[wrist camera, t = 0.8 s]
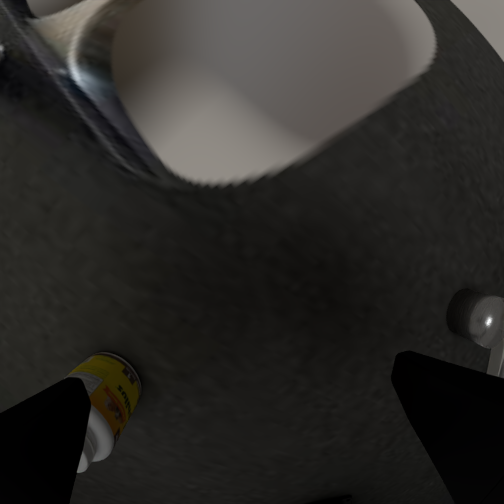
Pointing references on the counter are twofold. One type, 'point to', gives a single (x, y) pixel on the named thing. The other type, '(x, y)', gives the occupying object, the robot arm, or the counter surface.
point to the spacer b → (477, 317)
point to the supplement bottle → (106, 402)
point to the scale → (497, 360)
